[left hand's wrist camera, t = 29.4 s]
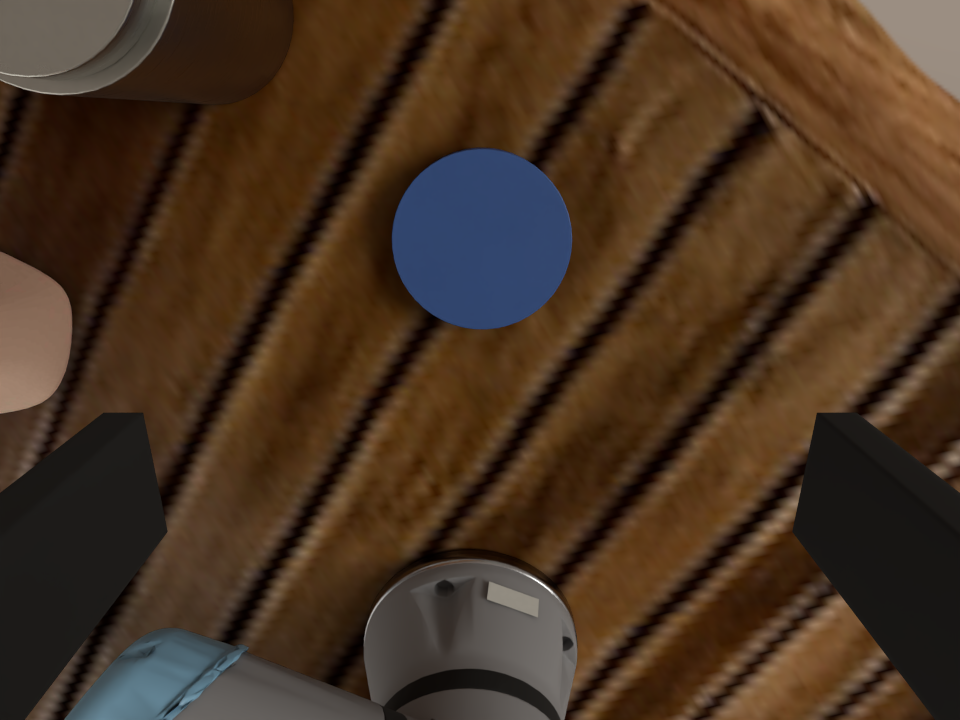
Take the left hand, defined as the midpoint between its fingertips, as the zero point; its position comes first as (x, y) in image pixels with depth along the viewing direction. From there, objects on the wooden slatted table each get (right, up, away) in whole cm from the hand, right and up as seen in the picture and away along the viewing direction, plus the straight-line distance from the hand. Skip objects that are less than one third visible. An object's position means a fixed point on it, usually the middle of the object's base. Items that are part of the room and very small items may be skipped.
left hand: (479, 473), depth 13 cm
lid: (0, +9, +23) cm, 24 cm away
